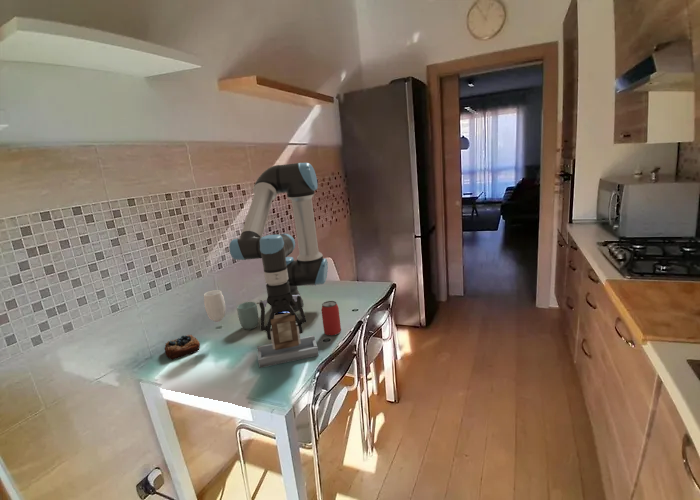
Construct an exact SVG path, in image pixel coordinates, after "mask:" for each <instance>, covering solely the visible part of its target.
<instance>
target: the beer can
mask: <svg viewBox="0 0 700 500" xmlns="http://www.w3.org/2000/svg"><path fill="white" fill-rule="evenodd" d="M340 317H341V316H340V310H339V306H338V303H337V301H336V300H326V301H325V302H323V303H322V304H321V318H322V319H321V320H322V326H323V333H324V334H325V335H326V336H328V337H329V336H331V337H332V336H336V335H339V334H340V333H341V331H342V328H341V319H340Z"/></svg>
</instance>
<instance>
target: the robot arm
mask: <svg viewBox="0 0 700 500" xmlns="http://www.w3.org/2000/svg"><path fill="white" fill-rule="evenodd" d="M318 184H319V183H318V177H317V175H316V171H315V168H314V167H313V165H312V164H311V163H309V162H296V163H295V162H294V163H289V164H276V165H273V166H270V167H269V168H267V169H265V170H264V171H263V172H262V173H261V174H260V176H258V178H257V179H256V181H255V183H254V185H253V189H252V190H253V192H252V193H253V196H252V197H253V198H252V200H251V204H250V206H249V209H248V211H247V212H248V213H247V215H246V218H245V221H244V224H243V228H242V231H241V233H240V236H239V238H234V239H232V240H231V241H230V242H229V247H228V248H229V249H228V250H229V254H230V256H231V258H232V259H233V260H236V261H239V260H240V261H246V260H257V259H261V260H262V267H263V274H264V281H265V284H266V285H265V287H266V292H267V293H266V294H267V297H266V299H263V300H259V303H258V304H259V308H260V331H261V332H264V331H265V332H266V335H267V336H266V337H267V340H268V341H270V340H271V344H272V346H273V349H275V345H274V338H273V332H272V325H271V319H273V318H274V315H276V314H278V312H282V311H289V312H290V313H291V315H295V320H296V328H297V335H298V342H299V344H301V341H300V338H301V334H303V326H302V325H303V324H305V323H307V319H306V315H305V312H304V310H303V309H304V308H303V307H304V299H303V298H302V296H301V293H300V292H299V289H298V287H301V286H302V287H303V286H317V285H319V286H320V285H324V284H325V283H326V282H327V277H328V272H329V270H328V269H329V264H328V259H327V258H325V257H324V255H323V253H322V252H320V251H319V244H318V236H317V229H316V223H315V214H314V212H315V211H314V206H313V205H314V204H313V197H314V196H315V193H316V192H315V191H317V189H318ZM285 193H286V197H287V199H289V200H290V201H291V206H292V212H293V218H294V219H293V220H294V226H295V232H296V240H297V246H298V247H297V248H298V252H299V254H298V255H297V257H296V260H295V258H294V257H293V256H289V255H291V254H293V251H294V250H295V248H296V240H295V239H294V237H293V236H292V235H291V234H290V233H280V234H268V235H265V236H263V235H264V232H265V227H266V224H267V221H268V219H269V214H270V210H271V207H272V203H273V200H274V199H276V198H277V195H278V194H285ZM267 304H268V305H269V306H270V312H269V316H268V320H267V323H266V321H265V320H266V319H265V315H266V314H265V312H266V309H265V308H266V307H267ZM297 311H299V313H300V316H301V318H300V317H299V316H298V314H297ZM265 323H266V325H265Z"/></svg>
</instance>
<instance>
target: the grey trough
mask: <svg viewBox="0 0 700 500" xmlns="http://www.w3.org/2000/svg"><path fill="white" fill-rule="evenodd" d="M315 337H316V336H315V335H314V334H313V335H310V336H309V335H307V336H303V337H300V341H301V344H299V345H298V346H294V347H289V348H284V349H279V350H275V349H273V346H272V343H269V344H264V345H258V346H256V349H257V362H258V368H259V369H262V368H266V367H270V366H271V367H272V366H277V365H280V364H285V363H290V362H294V361H299V360H305V359H309V358H313V357H318V356H320V355H319V348H318V345H317V341H316V338H315Z"/></svg>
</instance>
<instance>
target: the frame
mask: <svg viewBox="0 0 700 500" xmlns="http://www.w3.org/2000/svg"><path fill="white" fill-rule="evenodd" d="M296 323H297V322H296V320H295V315H291V313H284V314H275V315H274V318H273V319H271V328H272V332H273V338H274V345H275V350H279V349H284V348H289V347H294V346H298V345H299V342H298V335H297V328H296Z"/></svg>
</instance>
